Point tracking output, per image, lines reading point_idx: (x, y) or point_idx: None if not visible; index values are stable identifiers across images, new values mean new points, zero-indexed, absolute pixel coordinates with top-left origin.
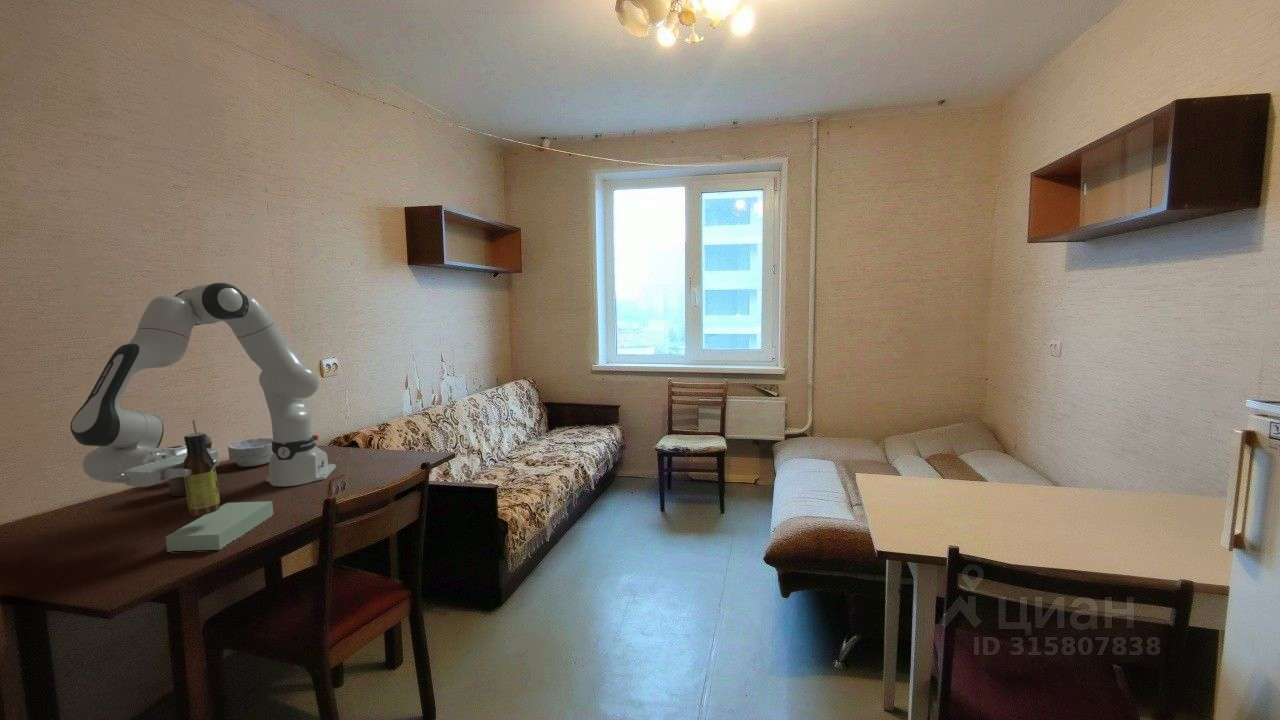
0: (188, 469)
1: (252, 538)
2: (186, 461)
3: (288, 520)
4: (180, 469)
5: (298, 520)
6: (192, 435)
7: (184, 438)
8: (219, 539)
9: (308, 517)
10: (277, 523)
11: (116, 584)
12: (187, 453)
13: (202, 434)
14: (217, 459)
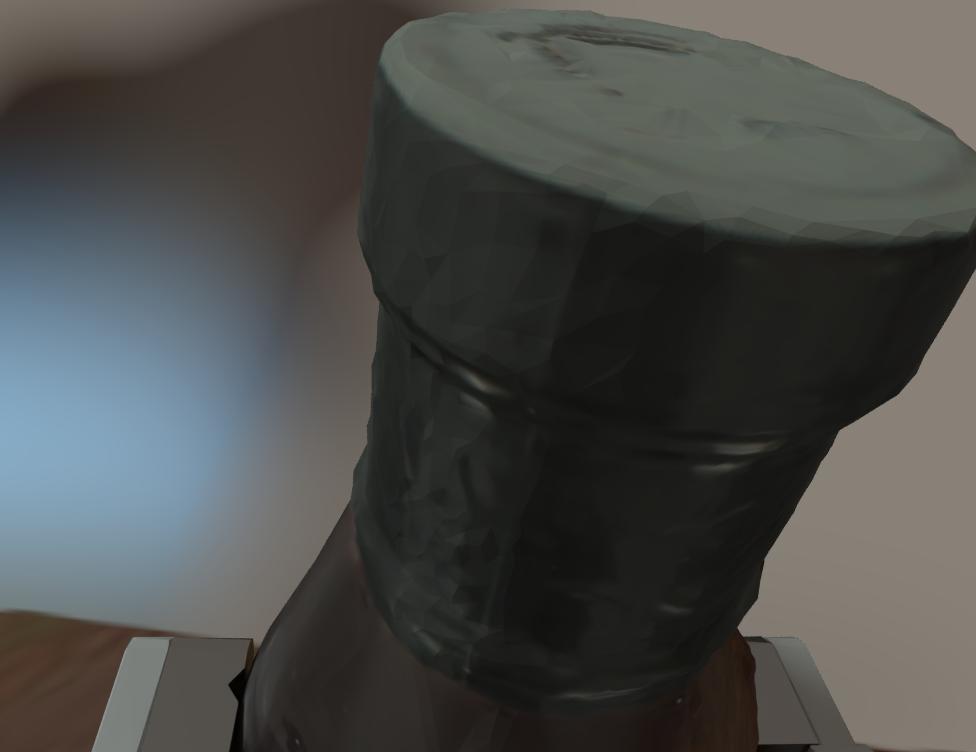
0: (747, 640)
1: None
2: (755, 661)
3: (29, 704)
4: (843, 723)
5: (50, 639)
6: (784, 91)
7: (968, 271)
8: None
9: (3, 611)
10: (78, 743)
11: None
12: (703, 664)
13: (595, 13)
14: (138, 641)
